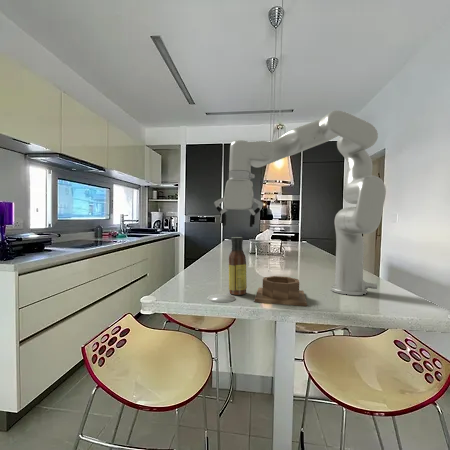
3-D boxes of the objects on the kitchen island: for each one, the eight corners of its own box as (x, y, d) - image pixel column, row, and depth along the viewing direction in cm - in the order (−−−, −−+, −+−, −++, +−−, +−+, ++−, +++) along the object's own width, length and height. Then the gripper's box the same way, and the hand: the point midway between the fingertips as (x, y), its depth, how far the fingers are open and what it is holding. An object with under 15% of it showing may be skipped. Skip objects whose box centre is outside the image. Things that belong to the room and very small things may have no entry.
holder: (303, 293, 103) (303, 276, 103) (306, 306, 87) (307, 286, 87) (258, 290, 106) (259, 274, 106) (254, 302, 90) (254, 283, 90)
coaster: (236, 297, 97) (236, 294, 97) (232, 304, 88) (232, 302, 88) (211, 295, 99) (211, 293, 99) (204, 302, 90) (204, 300, 90)
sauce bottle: (248, 292, 102) (249, 237, 102) (243, 296, 97) (245, 238, 96) (231, 290, 105) (232, 236, 104) (225, 294, 99) (226, 237, 98)
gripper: (265, 179, 102) (263, 227, 102) (217, 178, 105) (216, 225, 106) (263, 175, 95) (261, 227, 95) (213, 175, 98) (211, 225, 98)
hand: (237, 226), depth 100 cm, fingers open, 9 cm apart
